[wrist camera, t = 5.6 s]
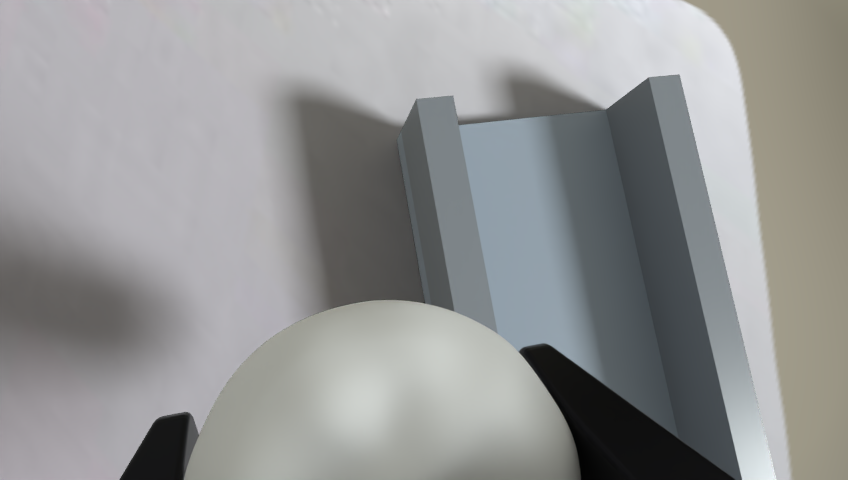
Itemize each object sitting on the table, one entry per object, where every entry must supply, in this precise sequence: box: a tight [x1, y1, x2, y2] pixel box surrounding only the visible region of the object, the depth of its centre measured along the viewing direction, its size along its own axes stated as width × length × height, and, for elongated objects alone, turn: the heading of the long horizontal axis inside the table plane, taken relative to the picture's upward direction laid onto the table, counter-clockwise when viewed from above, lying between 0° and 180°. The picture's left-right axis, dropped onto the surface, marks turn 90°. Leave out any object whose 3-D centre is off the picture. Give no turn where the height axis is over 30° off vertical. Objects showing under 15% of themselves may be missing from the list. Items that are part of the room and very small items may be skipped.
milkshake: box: [184, 300, 581, 480], centre depth 10 cm, size 4×5×10 cm
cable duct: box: [397, 75, 776, 480], centre depth 20 cm, size 22×9×4 cm, turn 10°
